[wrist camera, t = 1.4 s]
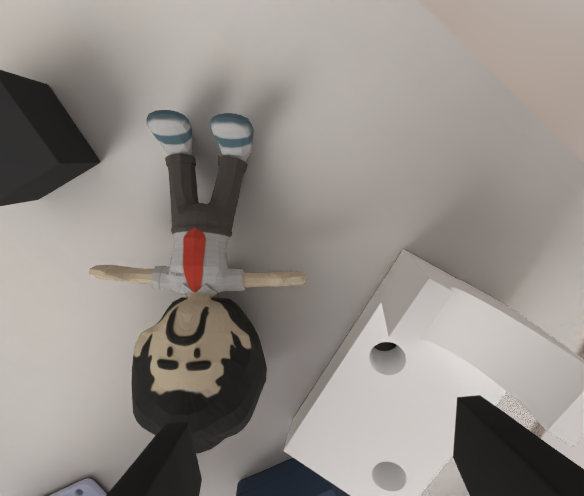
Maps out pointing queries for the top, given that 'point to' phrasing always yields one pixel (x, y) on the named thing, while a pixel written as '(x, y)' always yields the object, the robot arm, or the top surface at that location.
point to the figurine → (199, 298)
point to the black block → (37, 141)
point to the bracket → (427, 382)
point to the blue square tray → (288, 482)
